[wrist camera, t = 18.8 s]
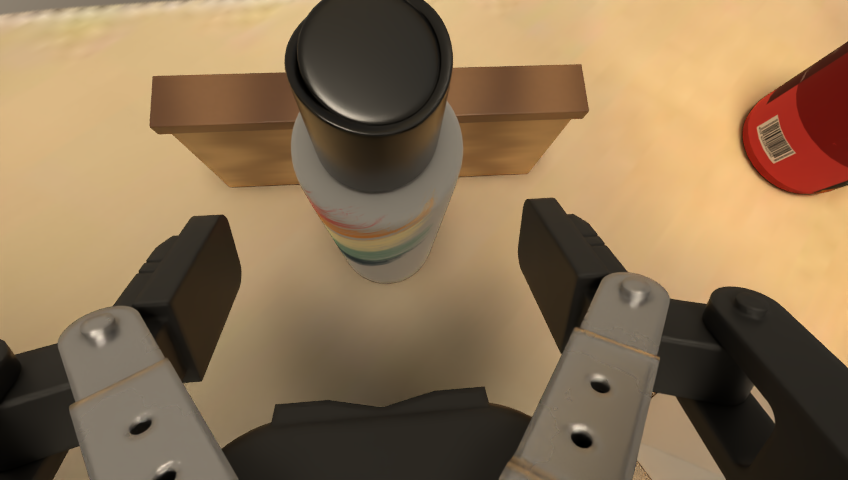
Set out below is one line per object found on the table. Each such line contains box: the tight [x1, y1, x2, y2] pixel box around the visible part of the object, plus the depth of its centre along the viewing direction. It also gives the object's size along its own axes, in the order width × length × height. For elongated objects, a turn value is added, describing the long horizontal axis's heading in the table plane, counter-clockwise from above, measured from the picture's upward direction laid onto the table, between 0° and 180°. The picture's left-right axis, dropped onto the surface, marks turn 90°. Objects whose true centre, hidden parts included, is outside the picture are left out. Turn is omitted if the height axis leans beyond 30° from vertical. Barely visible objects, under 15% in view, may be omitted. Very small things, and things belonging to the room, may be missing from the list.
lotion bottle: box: [285, 0, 463, 283], centre depth 19 cm, size 6×6×20 cm
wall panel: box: [150, 64, 589, 187], centre depth 26 cm, size 21×3×9 cm, turn 94°
